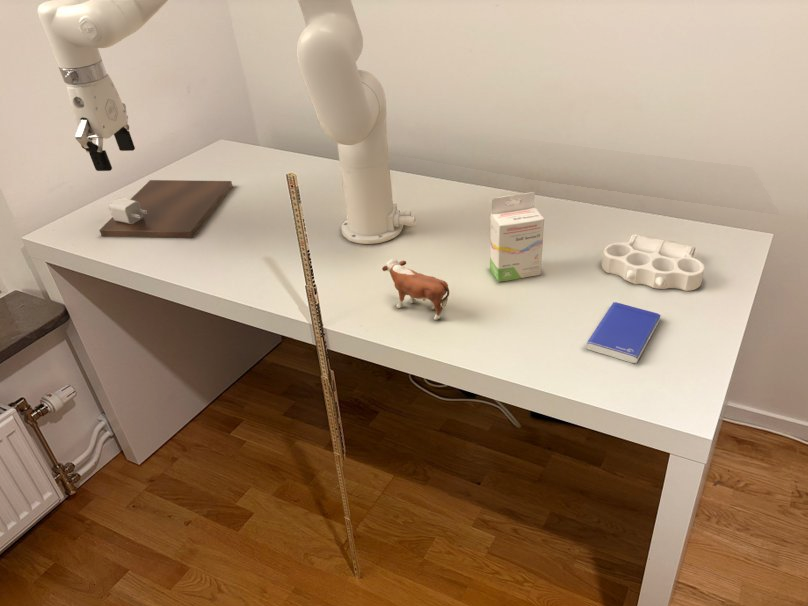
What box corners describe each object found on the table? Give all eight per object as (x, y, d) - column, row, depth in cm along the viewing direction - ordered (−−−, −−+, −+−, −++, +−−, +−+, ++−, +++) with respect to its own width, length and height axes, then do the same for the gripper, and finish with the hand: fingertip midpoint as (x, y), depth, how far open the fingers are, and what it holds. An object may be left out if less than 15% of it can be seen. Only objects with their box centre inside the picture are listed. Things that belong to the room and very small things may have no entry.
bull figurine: (394, 290, 125) (390, 251, 120) (455, 313, 119) (453, 273, 114) (378, 302, 122) (373, 262, 117) (440, 326, 116) (438, 285, 111)
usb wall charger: (128, 213, 150) (122, 196, 147) (153, 218, 147) (147, 201, 145) (114, 222, 147) (108, 205, 145) (139, 227, 145) (133, 210, 142)
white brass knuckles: (710, 261, 129) (693, 302, 119) (616, 241, 136) (592, 278, 126) (714, 245, 127) (697, 286, 117) (618, 226, 134) (594, 262, 124)
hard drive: (637, 356, 106) (661, 313, 114) (586, 341, 109) (613, 301, 117) (636, 364, 107) (659, 321, 115) (585, 349, 110) (612, 308, 118)
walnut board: (232, 186, 162) (231, 180, 161) (192, 238, 143) (190, 231, 142) (151, 185, 164) (150, 179, 163) (101, 236, 145) (99, 230, 144)
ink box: (497, 283, 126) (498, 210, 117) (489, 269, 130) (489, 197, 120) (542, 275, 127) (546, 202, 118) (532, 261, 131) (535, 190, 122)
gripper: (78, 88, 122) (113, 178, 132) (124, 58, 135) (152, 142, 146) (39, 89, 122) (76, 178, 133) (88, 59, 136) (119, 143, 147)
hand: (116, 159), depth 139 cm, fingers open, 9 cm apart
